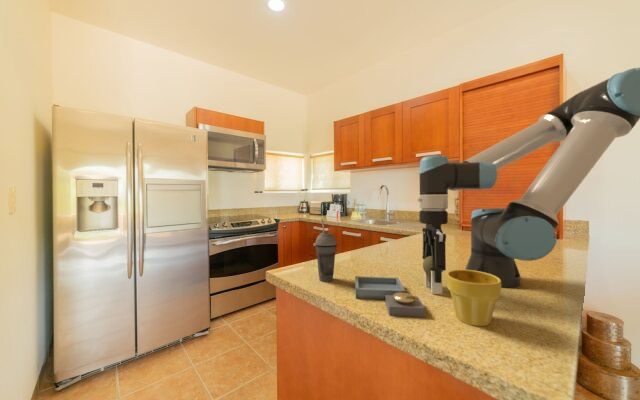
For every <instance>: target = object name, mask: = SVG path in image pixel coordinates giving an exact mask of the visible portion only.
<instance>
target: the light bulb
mask: <svg viewBox="0 0 640 400" xmlns="http://www.w3.org/2000/svg"><path fill="white" fill-rule="evenodd" d="M430 268H433V267H432V256H429V257H427V258H426V259H425V260H424V259H423V262H422V269H423V270H424V274H425V273H426V275H427V279H428V282H429V283H428V286H427V287H428V289H429V290H431V271H430ZM443 271H444V270H443ZM443 271H442V273H443Z"/></svg>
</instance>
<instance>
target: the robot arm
mask: <svg viewBox="0 0 640 400" xmlns="http://www.w3.org/2000/svg"><path fill="white" fill-rule="evenodd" d="M639 120H640V67H634V68H629V69H626V70H624V71H622V72H618V73H615V74H614V75H612V76H611V77H609V78H607V79H605V80H603V81H601V82H599V83H597V84H595V85H592V86H590V87H589V88H586V89H584V90H582V91H580V92H578V93H576V94H575V95H573V96H571V97H570V98H568V99H567V100H565V101H564V102H563V103H561V104H559V105H558V106H556V107H555V108H553V109H552V110H550V111H548V112H546V113H544V114H543V115H541V116H540V117H539V118H538V119H537V122H535V123H533V124H531V125H528V126H527V127H525V128H524V129H522V130H520V131H518V132H516V133H514V134H513V135H510V136H508V137H507V138H504V139H503V140H501V141H499V142H497V143H495V144H494V145H491V146H490V147H488V148H486V149H485V150H483V151H480V152H478V153H477V154H474V155H473V156H471V157H470V158H467V159H466V160H464V161H463V162H449V158H448V156H446V155H438V154H437V155H428V156H424V157H422V158H421V159H420V161H419V172H418V174H419V175H418V176H419V198H417V202H419V208H420V209H421V210H419V214H418V215H419V218H418V219H419V223H420V224H424V225H425V227H422V230H421V231H422V260H423V261H424V260H425V259H426V258H427V257H429V256H432V267H433V268H430V271H431V289H430V292H431V294H433V295H435V294H436V295H439V294H440V295H443V272H442V271H446V269H447V265H446V264H447V263H446V260H447V259H446V242H447V241H446V240H447V234H446V233H443V232H444V231H443V230H442V225H446V224H448V222H449V219H448V218H449V216H448V215H449V212H448V211H447V210H448V208H449V193H448V192H449V191H452V192H453V191H454V192H455V191H459V190H462V191H463V190H464V191H465V190H485V189H487V190H488V189H492V188H493V187H494V186H495V185H496V183H497V180H498V171H499V170H500V169H503V168H504V167H506V166H508V165H510V164H512V163H513V162H516V161H518V160H520V159H521V158H524V157H526V156H527V155H529V154H531V153H534V152H536V151H537V150H539V149H541V148H543V147H546V146H547V145H549V144H551V143H559V142H561V143H560V144H559V146H558V147H557V148H556V150H555V151H554V153H553V154H552V155H551V157H550V158H549V159H548V161H546V163H545V165H544V166H543V168H541V170H540V171H539V173H538V174H537V176H536V177H535V178H534V180H533V181H532V183H530V185H529V186H528V188H527V189H526V191H525V192H524V194H523V195H521V197H520V199H516V200H511V201H510V202H509V203H508V205H506V207H505V208H502V207H500V208H479V209H474V210H472V212H471V215H470V216H471V218H470V241H471V242H470V244H471V245H470V246H471V247H470V256H469V259H468V261H467V263H466V266H465V268H464V270H474V271H480V272H485V273H488V274H492V275H494V276H496V277H498V278H499V279H500V280H501V288H513V287H515V288H516V287H519V286H521V284H522V282H521V281H522V278H521V274H520V272H519V271H520V270H519V269H518V266H517V263H516V261H515V260H519V261H524V262H526V261H527V262H529V261H530V262H531V261H537V260H540V259H543V258H545V257H546V256H548V255H549V254H550V253H551V252H552V251H553V250H554V249H555V247H556V244H557V240H558V238H557V236H556V235H557V232H556V228H558V227H559V224H560V222H559V220H558V217H557V215H558V214H559V213H560V211H561V210H562V208H563V207H564V206H565V204H566V203H567V202H568V201H569V199H570V198H571V196H573V194H574V193H575V191H576V190H577V189H578V187H579V186H580V185H581V184H582V182H583V181H584V180H585V178H586V177H587V176H588V175H589V174H590V172H591V171H592V170H593V168H594V167H595V165H596V164H597V162H598V161H599V160H600V159H601V158H602V156H603V155H604V153H605V152H606V151H607V150H608V148H609V147H610V145H611V144H612V143H613V142H614V140H615V139H616V138H621V137H624V136H626V135H627V136H628V134H629V133H630V132H631V131H632V129H634V127H635V126H636V125H637V123H638V122H639ZM428 283H429V282H428V279H427V275H426V273H425V272H424V286H425V287H426V286H427V287H429V286H428Z"/></svg>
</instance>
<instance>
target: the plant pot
mask: <svg viewBox="0 0 640 400" xmlns="http://www.w3.org/2000/svg"><path fill="white" fill-rule="evenodd" d="M446 287H447V290H449V292H450V297H451V299H452V304H453V308H454V313H455V314H454V315H455V317H456V319H457V320H459V321H460V322H462V323H464V324H466V325H470V326H474V327H486V326H489V325H490V324H491V322H492V318H493V314H494V311H495V307H496V304H497V301H498V299H500V298H501V296H502V287H501V280H500V279H499V278H498V277H496V276H494V275H492V274H488V273H485V272H480V271H474V270H465V269H452V270H449V271H447V273H446Z"/></svg>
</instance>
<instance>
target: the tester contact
mask: <svg viewBox="0 0 640 400" xmlns="http://www.w3.org/2000/svg"><path fill="white" fill-rule="evenodd" d="M413 295H414V294H411V293H408V292H406V293H403V292H399V293H395V294H394V295H393V298H394V300H396V301H398V302H402V303H412V302H414V301H415V297H414V296H413Z"/></svg>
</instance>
